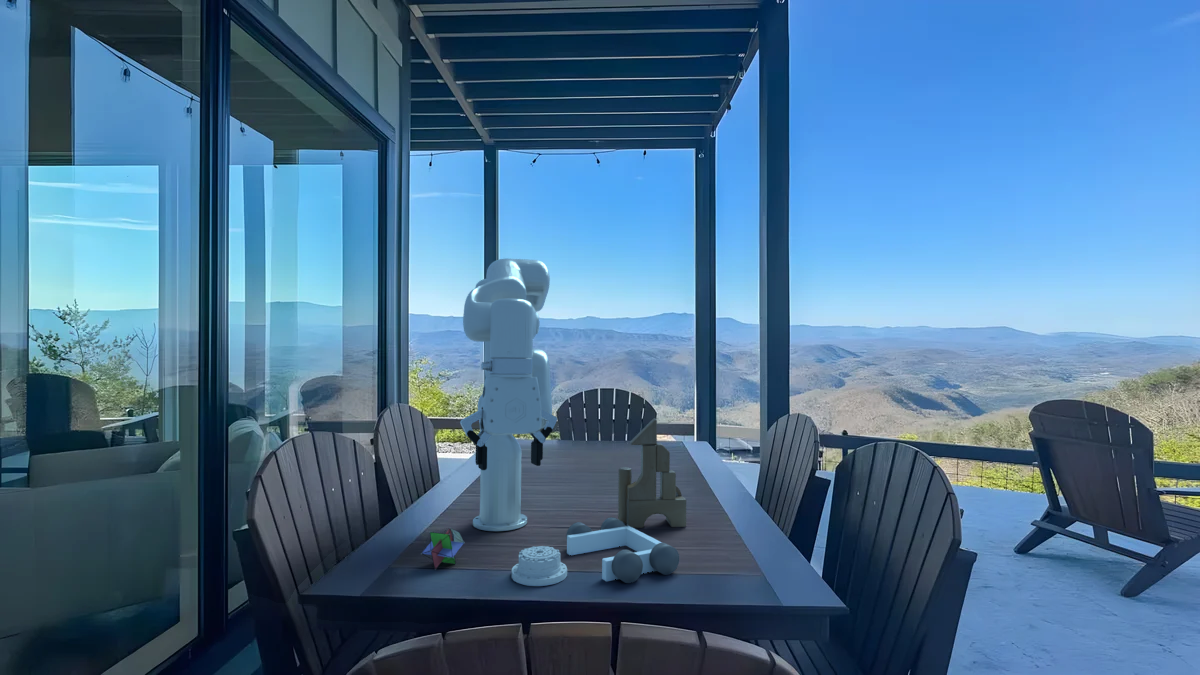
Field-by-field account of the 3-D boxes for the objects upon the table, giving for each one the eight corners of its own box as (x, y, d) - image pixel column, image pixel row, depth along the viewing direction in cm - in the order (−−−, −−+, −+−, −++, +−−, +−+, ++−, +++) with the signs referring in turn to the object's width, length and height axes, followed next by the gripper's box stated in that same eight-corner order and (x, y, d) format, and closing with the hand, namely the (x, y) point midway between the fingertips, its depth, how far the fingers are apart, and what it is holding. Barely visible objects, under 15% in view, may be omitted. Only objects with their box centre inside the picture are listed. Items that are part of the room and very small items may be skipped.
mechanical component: (553, 591, 93) (575, 570, 102) (554, 564, 93) (575, 546, 102) (501, 583, 96) (526, 563, 105) (501, 557, 96) (527, 540, 106)
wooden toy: (679, 518, 135) (679, 416, 136) (686, 527, 128) (686, 419, 130) (617, 520, 134) (618, 416, 135) (620, 528, 127) (621, 419, 128)
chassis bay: (561, 549, 113) (561, 524, 113) (622, 538, 120) (622, 515, 120) (613, 586, 94) (613, 557, 94) (681, 571, 101) (681, 544, 101)
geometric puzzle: (442, 565, 97) (458, 521, 102) (409, 561, 99) (426, 518, 104) (459, 578, 103) (473, 535, 108) (427, 573, 105) (442, 532, 110)
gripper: (467, 368, 90) (465, 474, 89) (564, 369, 98) (563, 466, 97) (457, 368, 97) (455, 467, 96) (548, 369, 104) (547, 460, 104)
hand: (509, 466), depth 96 cm, fingers open, 9 cm apart
